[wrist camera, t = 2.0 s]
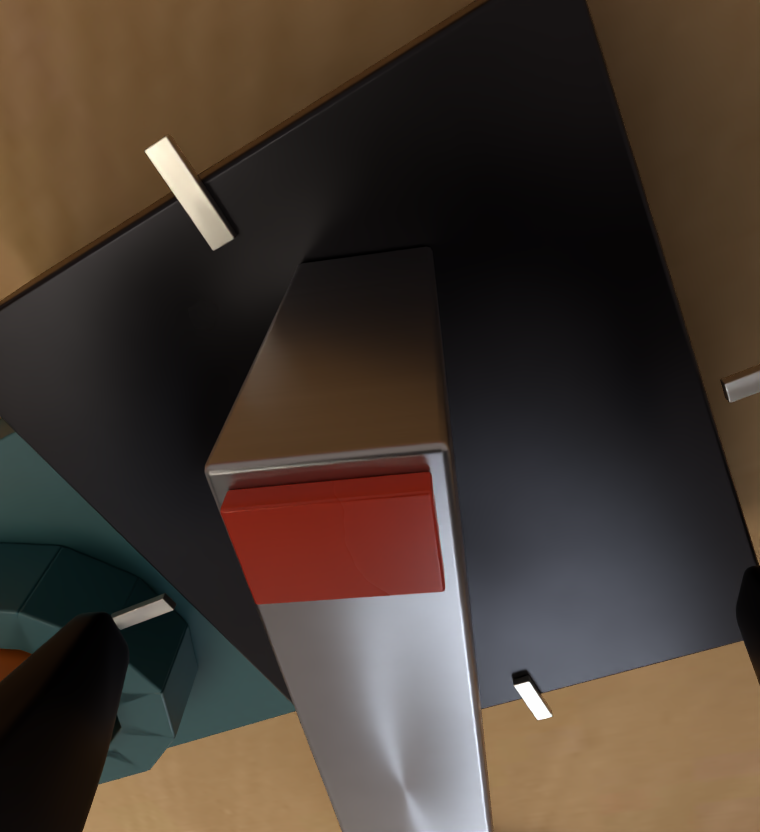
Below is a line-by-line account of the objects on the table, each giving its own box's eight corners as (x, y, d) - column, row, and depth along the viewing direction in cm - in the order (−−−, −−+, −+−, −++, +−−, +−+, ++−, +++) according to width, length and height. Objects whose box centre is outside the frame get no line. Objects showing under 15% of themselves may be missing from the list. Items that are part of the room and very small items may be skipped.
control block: (317, 652, 17) (298, 779, 15) (108, 718, 20) (55, 840, 17) (68, 380, 13) (-33, 486, 10) (-166, 509, 15) (-303, 625, 12)
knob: (477, 669, 13) (507, 964, 9) (391, 674, 13) (382, 965, 9) (431, 244, 8) (452, 465, 4) (297, 261, 8) (188, 489, 4)
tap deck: (793, 519, 14) (882, 635, 11) (310, 669, 18) (293, 782, 15) (624, -154, 8) (728, -241, 5) (-50, 290, 12) (-182, 366, 9)
